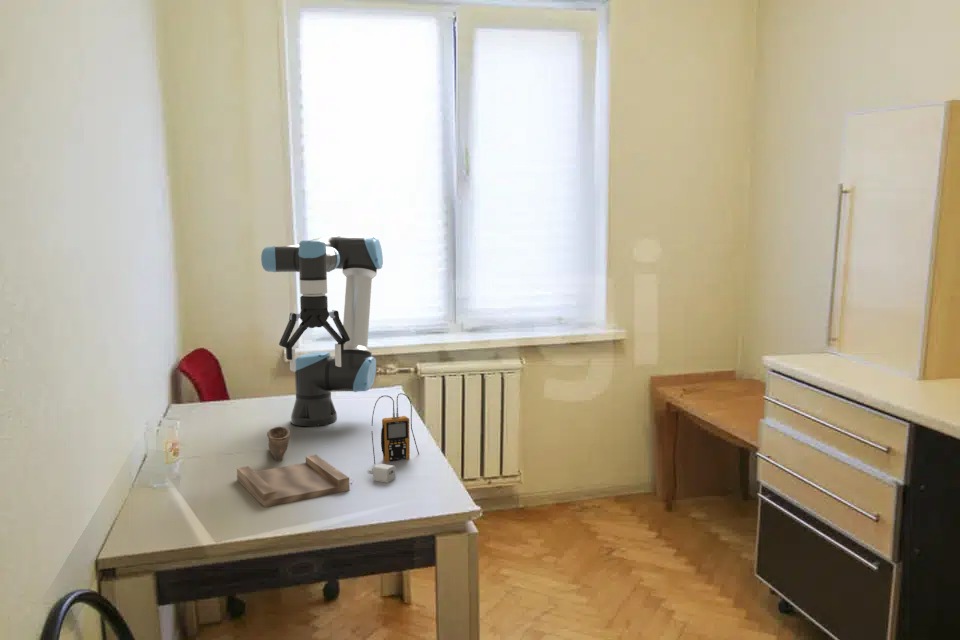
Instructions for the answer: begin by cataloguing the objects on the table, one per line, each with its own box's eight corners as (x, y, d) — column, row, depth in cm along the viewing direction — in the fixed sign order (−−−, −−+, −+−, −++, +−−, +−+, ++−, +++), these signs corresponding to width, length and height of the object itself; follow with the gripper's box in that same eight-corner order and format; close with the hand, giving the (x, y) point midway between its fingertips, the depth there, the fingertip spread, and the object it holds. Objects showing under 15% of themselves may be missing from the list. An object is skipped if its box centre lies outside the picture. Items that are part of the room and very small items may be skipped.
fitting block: (316, 466, 216) (315, 454, 215) (349, 490, 196) (349, 477, 195) (237, 480, 204) (236, 468, 204) (264, 507, 184) (263, 493, 183)
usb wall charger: (387, 484, 201) (386, 469, 200) (365, 480, 204) (365, 465, 203) (395, 479, 204) (395, 465, 204) (374, 475, 207) (374, 461, 207)
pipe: (285, 448, 233) (284, 416, 232) (292, 464, 218) (291, 429, 217) (264, 450, 231) (262, 418, 230) (269, 466, 216) (267, 432, 214)
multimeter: (380, 474, 208) (378, 402, 206) (370, 464, 217) (368, 395, 215) (431, 467, 214) (430, 397, 211) (419, 458, 223) (418, 391, 221)
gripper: (349, 291, 226) (351, 362, 229) (266, 296, 213) (268, 370, 216) (359, 293, 220) (361, 366, 223) (274, 298, 207) (277, 375, 209)
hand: (316, 368), depth 219 cm, fingers open, 13 cm apart
